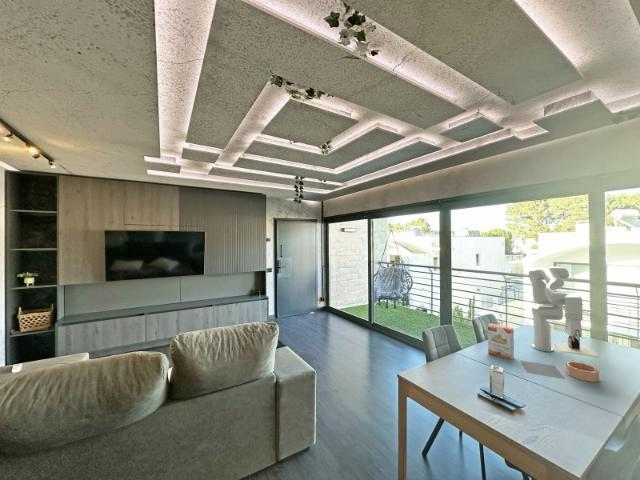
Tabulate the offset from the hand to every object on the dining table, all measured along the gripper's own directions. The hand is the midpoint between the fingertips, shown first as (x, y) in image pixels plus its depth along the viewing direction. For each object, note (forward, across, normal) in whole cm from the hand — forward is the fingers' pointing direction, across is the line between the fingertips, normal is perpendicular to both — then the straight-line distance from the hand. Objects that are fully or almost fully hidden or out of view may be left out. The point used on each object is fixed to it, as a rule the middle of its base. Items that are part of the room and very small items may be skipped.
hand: (574, 346), depth 155 cm
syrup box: (+17, +45, -44) cm, 65 cm away
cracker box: (+17, -12, -35) cm, 41 cm away
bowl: (+17, 0, +3) cm, 18 cm away
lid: (+2, 0, 0) cm, 2 cm away
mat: (+17, 0, -16) cm, 23 cm away
